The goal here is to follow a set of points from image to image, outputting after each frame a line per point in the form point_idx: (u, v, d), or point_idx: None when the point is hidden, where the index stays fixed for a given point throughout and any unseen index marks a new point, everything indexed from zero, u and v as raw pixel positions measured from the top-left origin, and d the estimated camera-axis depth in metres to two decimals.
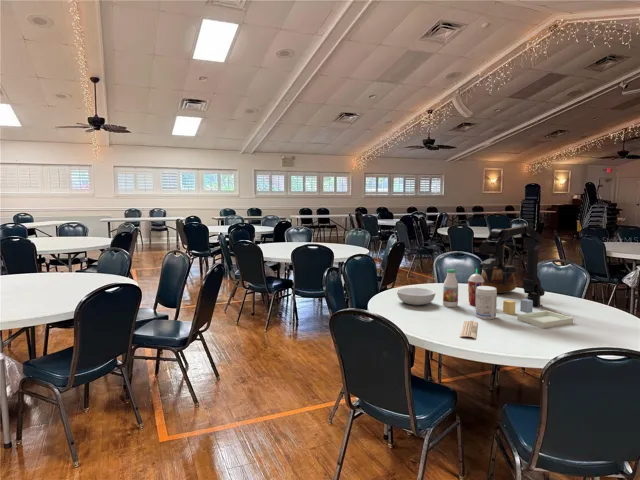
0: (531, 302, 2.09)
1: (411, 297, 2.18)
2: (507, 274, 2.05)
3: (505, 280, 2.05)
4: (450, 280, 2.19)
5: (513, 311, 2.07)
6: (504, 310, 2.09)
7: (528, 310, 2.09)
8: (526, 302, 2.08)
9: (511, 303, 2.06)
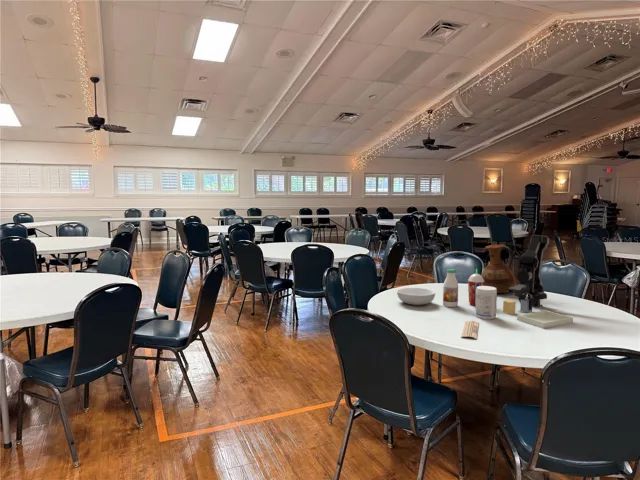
0: None
1: (411, 297, 2.18)
2: (533, 299, 2.08)
3: (531, 305, 2.08)
4: (450, 280, 2.19)
5: (513, 311, 2.07)
6: (504, 310, 2.09)
7: (528, 310, 2.09)
8: (526, 302, 2.08)
9: (511, 303, 2.06)
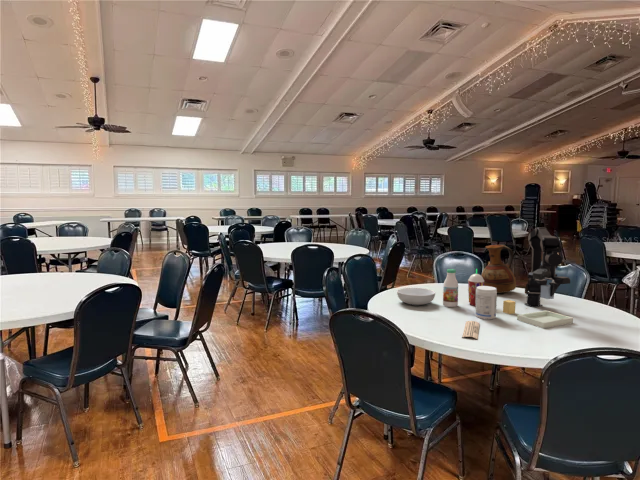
0: None
1: (411, 297, 2.18)
2: (555, 285, 1.93)
3: (553, 291, 1.93)
4: (450, 280, 2.19)
5: (513, 311, 2.07)
6: (504, 310, 2.09)
7: (549, 296, 1.94)
8: (547, 288, 1.94)
9: (511, 303, 2.06)
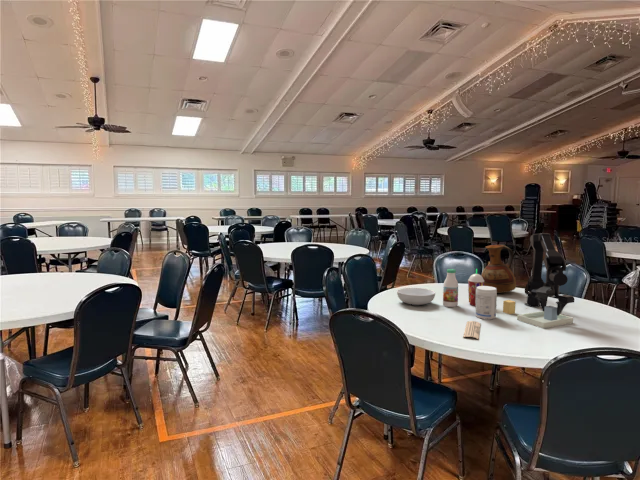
0: (556, 309, 1.93)
1: (411, 297, 2.18)
2: (562, 304, 1.90)
3: (560, 310, 1.90)
4: (450, 280, 2.19)
5: (513, 311, 2.07)
6: (504, 310, 2.09)
7: (553, 318, 1.93)
8: (551, 309, 1.93)
9: (511, 303, 2.06)
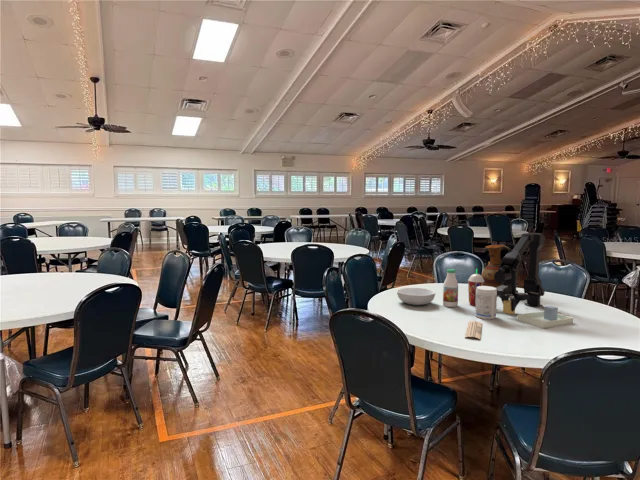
0: (556, 309, 1.93)
1: (411, 297, 2.18)
2: (516, 300, 2.06)
3: (514, 306, 2.06)
4: (450, 280, 2.19)
5: (513, 311, 2.07)
6: (504, 310, 2.09)
7: (553, 318, 1.93)
8: (551, 309, 1.93)
9: None
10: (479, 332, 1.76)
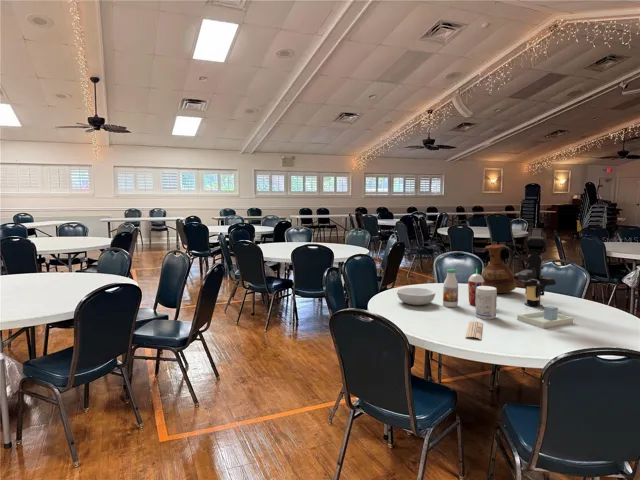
0: (556, 309, 1.93)
1: (411, 297, 2.18)
2: (541, 286, 1.91)
3: (538, 292, 1.91)
4: (450, 280, 2.19)
5: None
6: (527, 296, 1.94)
7: (553, 318, 1.93)
8: (551, 309, 1.93)
9: (535, 289, 1.92)
10: (480, 332, 1.76)
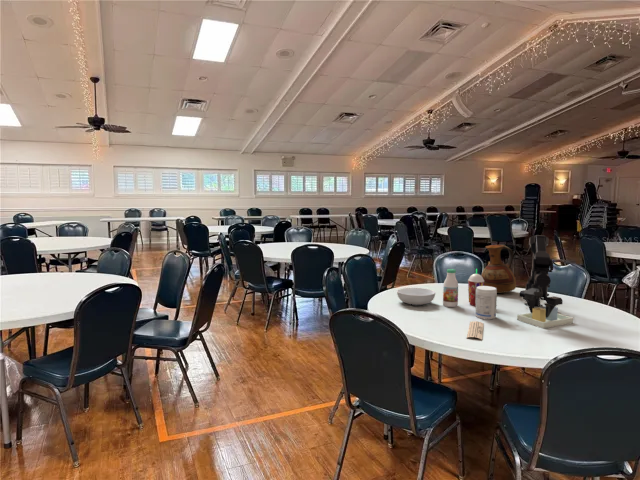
0: (556, 309, 1.93)
1: (411, 297, 2.18)
2: (551, 305, 1.87)
3: (548, 312, 1.87)
4: (450, 280, 2.19)
5: (543, 320, 1.90)
6: (533, 318, 1.92)
7: (553, 318, 1.93)
8: None
9: (541, 311, 1.89)
10: (481, 332, 1.76)
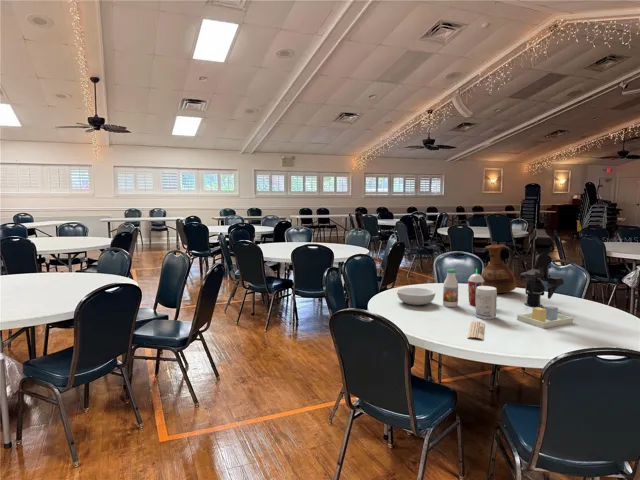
0: (556, 309, 1.93)
1: (411, 297, 2.18)
2: (553, 286, 1.85)
3: (551, 293, 1.86)
4: (450, 280, 2.19)
5: (543, 320, 1.90)
6: (533, 318, 1.92)
7: (553, 318, 1.93)
8: (551, 309, 1.93)
9: (541, 311, 1.89)
10: (482, 332, 1.76)
